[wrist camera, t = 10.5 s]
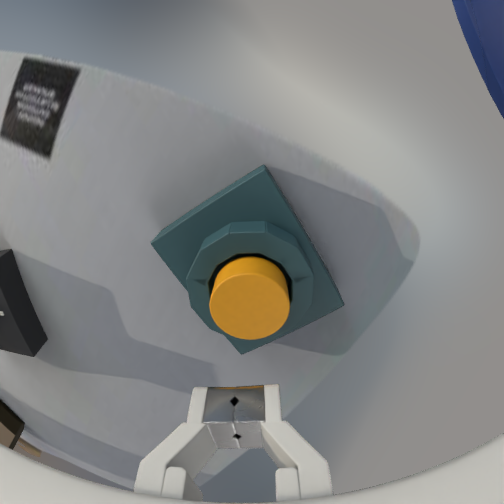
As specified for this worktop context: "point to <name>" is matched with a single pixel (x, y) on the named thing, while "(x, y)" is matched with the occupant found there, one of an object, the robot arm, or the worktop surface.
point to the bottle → (9, 427)
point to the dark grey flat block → (17, 312)
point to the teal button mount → (248, 251)
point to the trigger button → (250, 298)
